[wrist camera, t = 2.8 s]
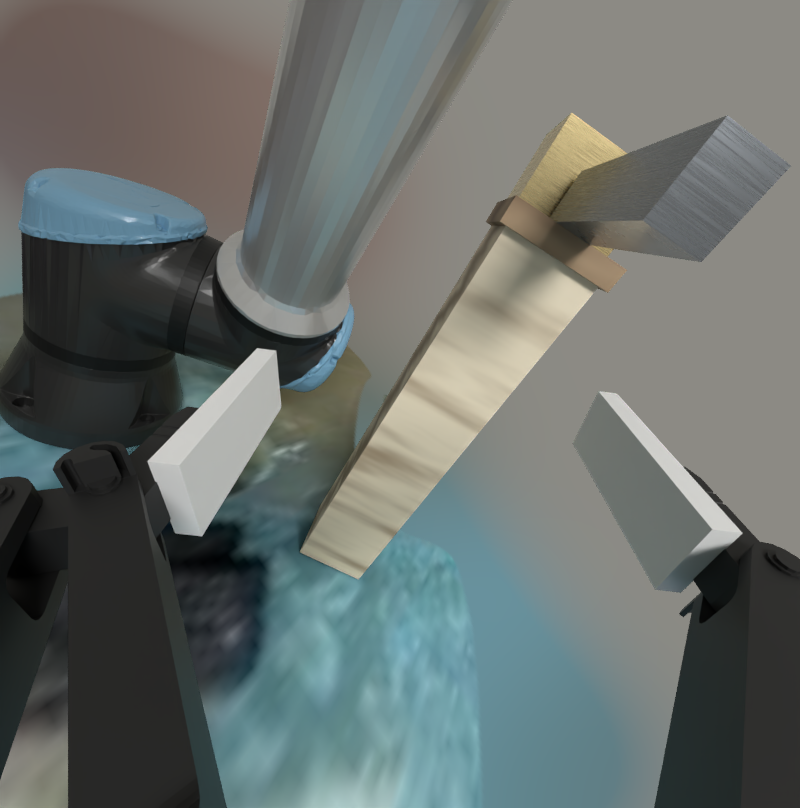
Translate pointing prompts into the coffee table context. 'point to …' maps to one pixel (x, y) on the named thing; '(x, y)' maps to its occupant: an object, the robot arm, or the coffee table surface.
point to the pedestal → (458, 377)
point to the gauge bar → (650, 187)
